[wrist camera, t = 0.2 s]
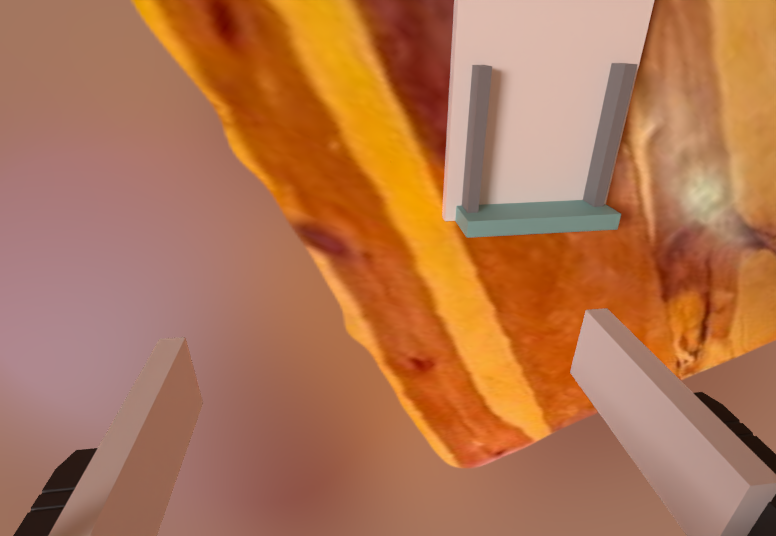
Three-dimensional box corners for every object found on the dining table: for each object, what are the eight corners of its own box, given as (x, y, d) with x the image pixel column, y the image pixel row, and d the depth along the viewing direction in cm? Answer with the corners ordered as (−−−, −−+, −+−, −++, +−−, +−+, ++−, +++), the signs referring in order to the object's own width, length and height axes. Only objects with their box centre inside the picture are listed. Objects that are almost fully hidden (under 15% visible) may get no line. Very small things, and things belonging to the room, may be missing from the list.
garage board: (458, -79, 32) (480, -99, 27) (662, -75, 33) (715, -93, 29) (442, 216, 43) (455, 238, 38) (597, 209, 44) (627, 228, 40)
